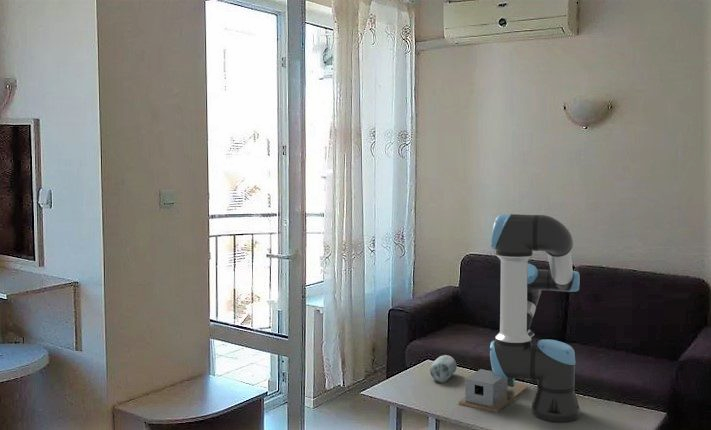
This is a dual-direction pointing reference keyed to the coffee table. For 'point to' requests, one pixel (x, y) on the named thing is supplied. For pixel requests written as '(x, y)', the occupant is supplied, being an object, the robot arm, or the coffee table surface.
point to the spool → (443, 368)
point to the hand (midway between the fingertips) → (504, 369)
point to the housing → (489, 391)
